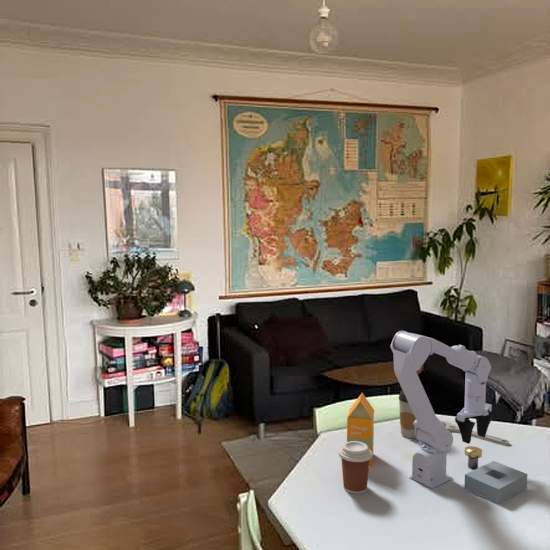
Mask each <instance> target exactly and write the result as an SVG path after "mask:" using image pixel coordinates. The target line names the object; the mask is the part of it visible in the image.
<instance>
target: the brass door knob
mask: <svg viewBox="0 0 550 550" xmlns="http://www.w3.org/2000/svg"><path fill="white" fill-rule="evenodd" d="M464 455H465V456H467V457H468V458H467V468H468V469H470V470H472V471H473V470H475V469H478V468H479V459H480V458H482V457H483V449H482V448H480V447H476V446H472V445H471V446H470V445H469V446H466V447H465V448H464Z"/></svg>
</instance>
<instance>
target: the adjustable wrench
mask: <svg viewBox="0 0 550 550" xmlns="http://www.w3.org/2000/svg"><path fill="white" fill-rule="evenodd" d="M440 421H441V422H442V423H443V424H444V425H445V427H446V429H447V430H448V431H450V432H451V433H459V434H461V433H460V429H459V427H458V425H457V424H453V423H452V422H450V421H447V420H440ZM472 437H473V438H476V439H480V440H483V441H487V442H490V443H493V444H494V443H495V444H498V445H502V446H509V445H510V441H509V440H508V439H504V438H500V437H497V436H493V435H489V434H486V435H485V437H481V436H479V435H478V434H477V431H475V430H472V435H471V438H472Z"/></svg>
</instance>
